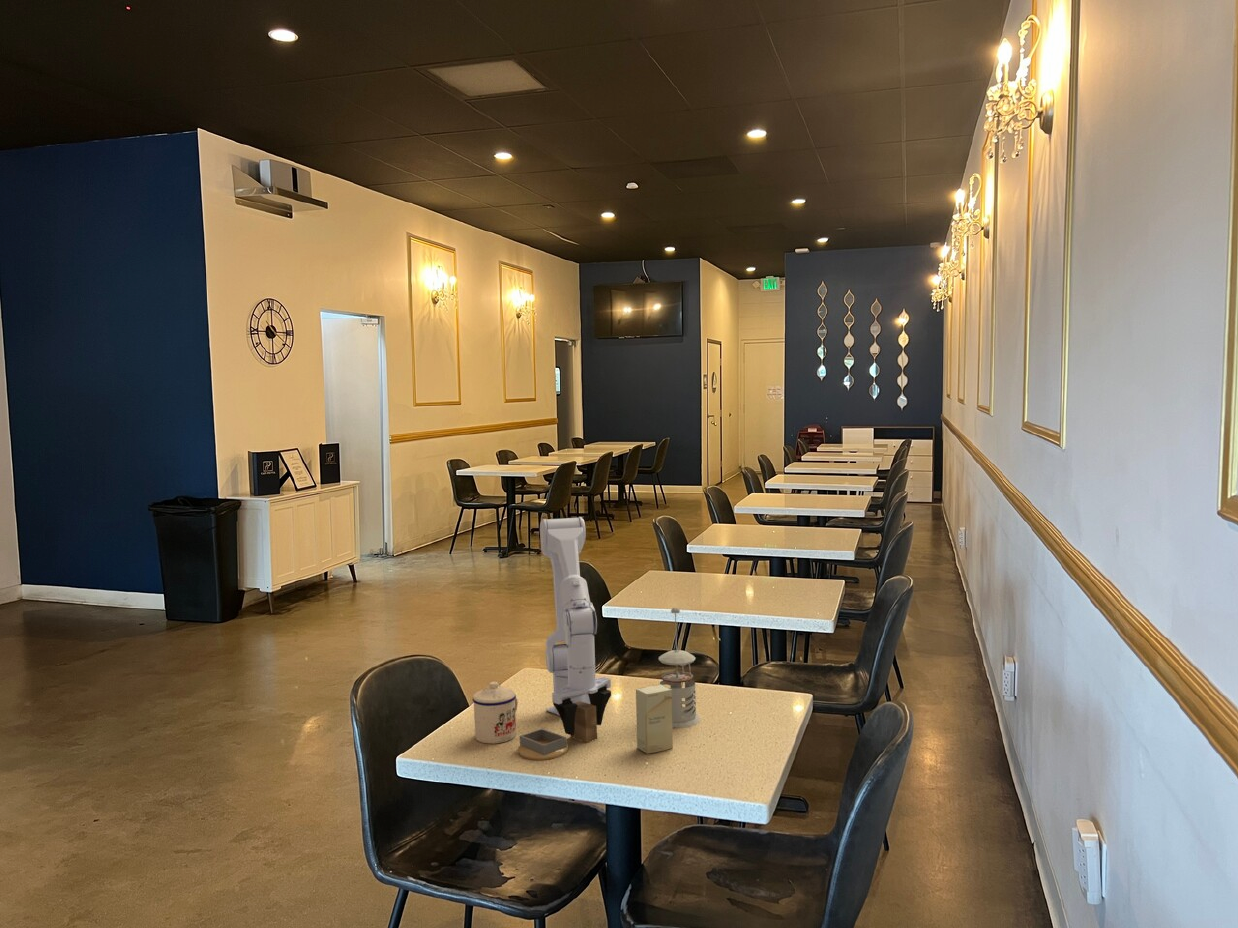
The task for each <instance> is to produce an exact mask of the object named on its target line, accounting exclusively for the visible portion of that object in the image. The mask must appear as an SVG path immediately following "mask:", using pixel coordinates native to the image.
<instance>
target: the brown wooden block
mask: <svg viewBox="0 0 1238 928" xmlns="http://www.w3.org/2000/svg"><path fill="white" fill-rule="evenodd" d="M574 704H577V705H578V706H577V709H576V713H575V731H574V735H570V738H572V739H575V740H577V741H579V742H582V741H583V743H585V744H588V743H590V741H591V742H593V741H596V740H598V729H597V728H598V725H597V719H596V706H594V705H591V704H588V703H585V702H582V701H579V702H576V703H574ZM595 739H596V740H595ZM592 740H593V741H592ZM587 742H588V743H587Z"/></svg>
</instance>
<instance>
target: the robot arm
mask: <svg viewBox="0 0 1238 928" xmlns="http://www.w3.org/2000/svg"><path fill="white" fill-rule="evenodd" d="M586 531H587V530H586V524H585V520H584V518H583V517H582V516H578V517H567V518H550V519H548V518H547V519H546V518H543V519H542V520H541V521H540V523H539V535H540V549H541V553H542V555H543V556H545V557H547V558H549V560H550V563H551V568H552V578H553V579H552V580H553V590H554V591H553V593H554V595H553V596H554V607H555V621H556V623H555V624H556V629H555V630H554V631H553V632H552V633H551V634H550V635H549V636H547V638H546V640H545V665H546V669H547V671H548V672H549V673H550V674H551V673H552V680H553V683H552V684H553V692H552V694H551V698H552V705H553V706H550V707H547V708H545V711H546V712H549V713H552V714H554V715H558V716H559V717H560V719H561V723H562V726H563V729H564V733H565V735H569V736H571V735H574V731H575V713H576V709H577V706H578V705H577V704H574V703H576V702H579V701H582V702H585V703H588V704H591V705H594V706H596V719H597V726H601V725H602V723H603V722H602V721H603V718H604V714H605V710H606V707H607V704H608V702H609V700H610V698H611V697H612V691H611V690H610V688H612V684H611V683H612V682H611V678H609V677H606V676H604V677H603V676H602V677H599V678H596V657H595V656H596V655H595V653H596V652H595V651H596V650H595V635H597V629H598V620H597V619H598V618H597V612H596V609H595V607H594V605H593V602H591V598H590V594H589V587H588V582H587V580H586V579H585V578H583V577H582V576H581V572H580V571H581V569H580V557H579V554H581V553H582V549H583V548H584V545H585V542H586V538H587V537H586V536H587V535H586V533H587V532H586ZM564 642H565V643H564ZM557 643H558V644H557Z"/></svg>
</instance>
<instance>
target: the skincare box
mask: <svg viewBox="0 0 1238 928" xmlns="http://www.w3.org/2000/svg"><path fill="white" fill-rule="evenodd" d="M669 688H670V687H667V686H665V685H660V684H658V685H651V686H646V687H641V688H635V699H636V700H635V706H636V707H635V709H636V716H635V717H636V746H637V748H638V749H639V750H640V751H642V752H644V753H646V754H652V753H658V752H663V751H668V750H672V749H673V748H674V742H673V741H674V738H673V727H672V690H671V689H669Z"/></svg>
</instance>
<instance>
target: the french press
mask: <svg viewBox="0 0 1238 928" xmlns="http://www.w3.org/2000/svg"><path fill="white" fill-rule="evenodd" d="M670 613H671V614H674V622H675V625H674V626H675V650H673V649H672V650H669V651H667V652H665V653H663V654H661V655H660V656H658V658H657V659H658V661H659V662H660V663H661V664H664V665H668V666H676V670H675V671H669V672H665V673H663V674H661V676H660V678H661V681H660V682H659V685H664V686H665V685H667V686H670V687H668V688H669V689H671V690H672V728H689V727H692V726H696V725H698V724H699V723H700V722H701V720H702V718H701V717H700V716H699V715H698V714H697V704H696V703H697V702H696V699H697V698H696V697H697V696H696V694H697V693H696V682H695V681H694V680H693V679H694V677H695V676H694V674H692V673H691V671H692V670H691V664H692V663H694V662H695V660H696V657H695V655H693V654H691V653H690V652H688V651H685V650H678V647H677V646H678V645H677V644H678V643H677V641H678V639H677V635H678V634H677V614H680V613H681V611H680V608H679V607H677V606H676V607H675V606H674V607H673V606H672V608H671V610H670ZM687 665H688V667H689V672H687V671H685V669H684V667H686V666H687ZM678 666H680V667H682V669H681V670H682V671H678V668H679V667H678ZM683 685H684V688H683ZM683 699H684V700H683ZM683 705H685V706H683Z"/></svg>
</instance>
